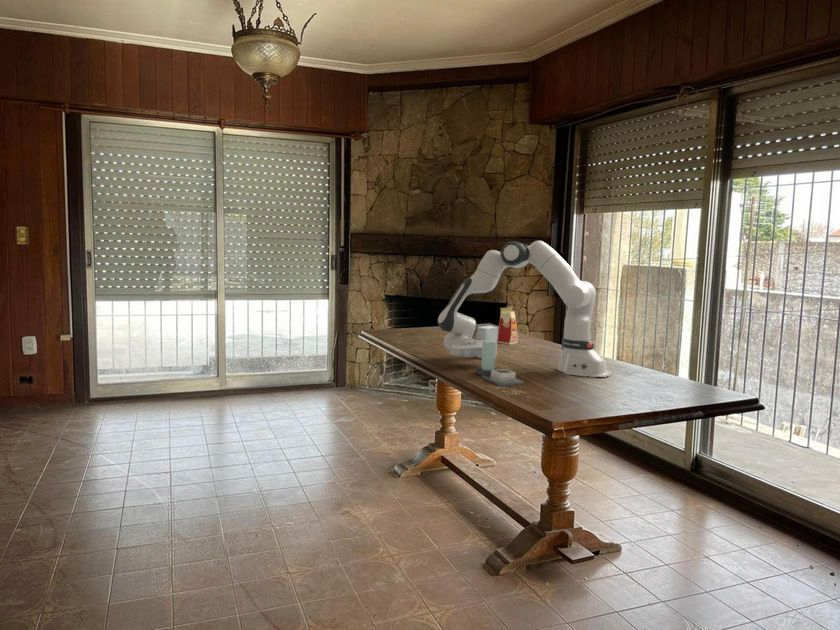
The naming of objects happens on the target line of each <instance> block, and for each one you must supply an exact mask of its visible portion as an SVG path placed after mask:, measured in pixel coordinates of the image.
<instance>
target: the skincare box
mask: <svg viewBox="0 0 840 630" xmlns="http://www.w3.org/2000/svg"><path fill="white" fill-rule="evenodd" d="M498 331H499V326H493V325H489V324H488V325H482V326H477V332H476V335H477V336H476V339H481V340H484V341H494V342H496V349H495V358H497V356H498V355H497V352H498V351H497V350H498V343H497V342H498ZM475 356H476V358H479V359H481V360H482V355H475Z"/></svg>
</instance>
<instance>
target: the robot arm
mask: <svg viewBox="0 0 840 630" xmlns="http://www.w3.org/2000/svg"><path fill="white" fill-rule="evenodd" d="M529 264H531V265H533V266H534V267H535V268H536V270H538V271H539V272H540V274H541V275H542V276H543V277H544V278H545V279H546V280H547V281H548V282H549V283H550V284H551V286H552V287H553V289H554V290H555V292H556V293H557V294H558V296H559V297H560V299H561V300H562V302H563V303H564V304H565V306H567V310H566V311H567V312H566V314H565V318H564V325H563V327H564V328H563V337H562V339H561V356H560V357H561V358H560V360H559V364H558V366H557V371H559V372H561V373H563V374H565V375H570V376H571V375H572V376H578V377H579V376H580V377H587V376H589V377H590V378H596V377H605V378H608V377H611V375H612V371H611V370H609V369H607V363H606V359H605V358H604V357H603V356H602V355H601V354H600V353H599V352H597V351H596V350H595V349H594V347H595V346H594V345H595V344H596V342H595V341H592V340H591V338H590V337H591V326H592V325H591V324H592V317H593V313H594V308H595V301H596V295H597V292H596V291H597V290H596V287H595V286H594V285H593V284H592V283H591V282H589V281H587V280H586V281H585V280H581V279H580V278H579V277H578V276H577V275H576V273H575V272H574V270H573V269H572V266H571V265H569V263H567V261H566V260H565V259H564V258H563V257H562V256H561V255H560V254H559V253H558V251H556V250H555V249H554V248H552V247H551V246H550V245H549V244H548V243H546V242H544V241H543V240H535V241H533V242H532V243H530V244H529V245H528V244H525V243H521V242H519V241H509V242H506V243H505V244H504V245H503V246H502V247H501V250H500V251H498V250H496V249H491V250H490V249H489V250H488V251H487V252H485V254H484V256H483V257H482V258H481V259H480V262H479V264H478V265H477V269H476V270H475V271H474V273H473V274H471V276H470V277H468V278H464V280H463V281H462V282H461V283H460V285H459V286H458V288H457V290H456V291H455V293H454V294H453V295H452V297H451V299H450V300H449V302H448V303H447V305H446V306H445V307H444V309H442V311H441V312H440V313H439V315H438V317H437V325H438V327H439V328H440V330H441V331H444V332H448V334H446V335H445V337H444V339H443V345H444V347H445V348H446V351H448V352H449V353H450V354H451V355H452V356H455V357H463V358H464V359H465V358H466V359H467V358H471V357H474V356H476V355H482V342H483V341H484V340H481V339H477V338H475V337H476V335H477V332H478V325H477V321H476V319H475V318H474V317H471V316H468V315H465V314H463V313H460V312H458V310H459V308H460V307H461V305H462V304H463V302H464V301H465V299H466V298H467V297H468V296H469V295H472V294H486V293H490V292H492V291H493V290H494V289H495V288H496V286H497V285H498V282H499V280H500V279H501V276H502V275H503V271H504V270H505V269H513V270H521V269H524V268H526V267H527V266H528V265H529ZM607 376H608V377H607Z"/></svg>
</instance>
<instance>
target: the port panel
mask: <svg viewBox="0 0 840 630" xmlns="http://www.w3.org/2000/svg"><path fill="white" fill-rule="evenodd" d="M516 375H517V374H516V372H515V371H512V370H510V369H507V368H503V369H502V368H501V369H498V370H491V375H486V376H481V378H482V379H483V380H486V381H487V382H489V383H491V384H495V385H497V386H499V387H505V386H506V387H507V386H508V387H510V386H519V385H525V381H524V380H521V379H518V378H516Z"/></svg>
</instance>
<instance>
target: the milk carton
mask: <svg viewBox="0 0 840 630" xmlns="http://www.w3.org/2000/svg"><path fill="white" fill-rule="evenodd" d="M513 307H514V306H513V305H512V306H508V307H500V308H499V309H500V314H499V315H500V316H499V324H498V335H497V344H504V345H514V344H517V343H518V342H519V341H518V340H519V339H518V327H517V320H516V313H515V310H514V309H513Z"/></svg>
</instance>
